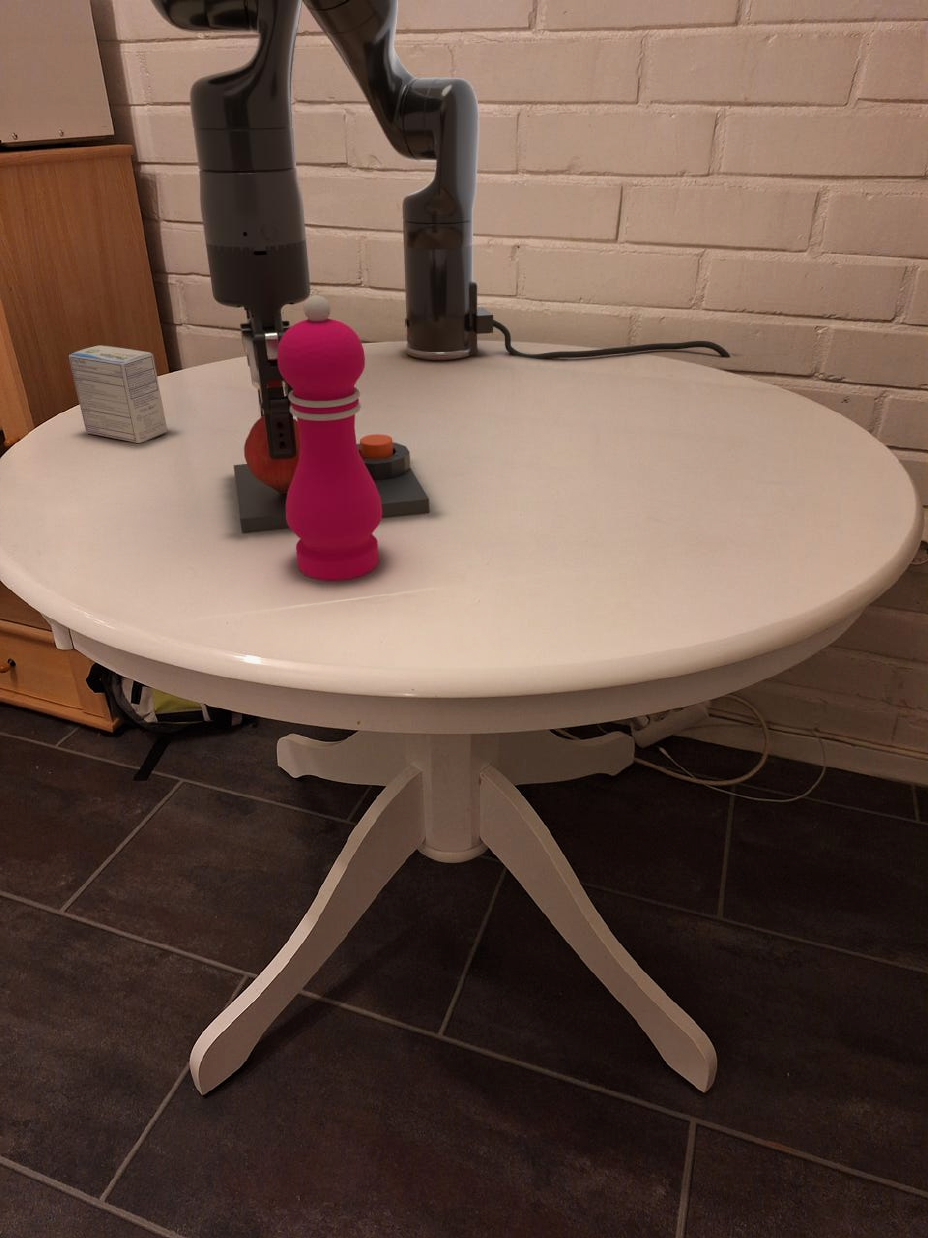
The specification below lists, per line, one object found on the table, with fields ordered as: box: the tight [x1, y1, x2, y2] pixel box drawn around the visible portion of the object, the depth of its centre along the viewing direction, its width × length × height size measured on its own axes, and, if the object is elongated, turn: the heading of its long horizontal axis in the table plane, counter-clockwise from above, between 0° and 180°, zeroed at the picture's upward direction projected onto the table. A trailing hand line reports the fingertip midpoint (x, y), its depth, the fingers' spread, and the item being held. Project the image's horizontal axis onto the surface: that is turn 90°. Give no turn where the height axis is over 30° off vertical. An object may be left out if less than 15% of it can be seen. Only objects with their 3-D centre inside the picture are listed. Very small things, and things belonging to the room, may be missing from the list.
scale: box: [233, 441, 430, 534], centre depth 82 cm, size 16×13×3 cm
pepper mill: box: [277, 294, 383, 582], centre depth 66 cm, size 7×7×20 cm
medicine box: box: [68, 344, 168, 444], centre depth 96 cm, size 8×4×9 cm, turn 62°
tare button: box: [359, 433, 394, 459], centre depth 84 cm, size 3×3×2 cm
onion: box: [243, 416, 300, 494], centre depth 78 cm, size 6×6×8 cm
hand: (278, 440), depth 77 cm, fingers open, 8 cm apart
